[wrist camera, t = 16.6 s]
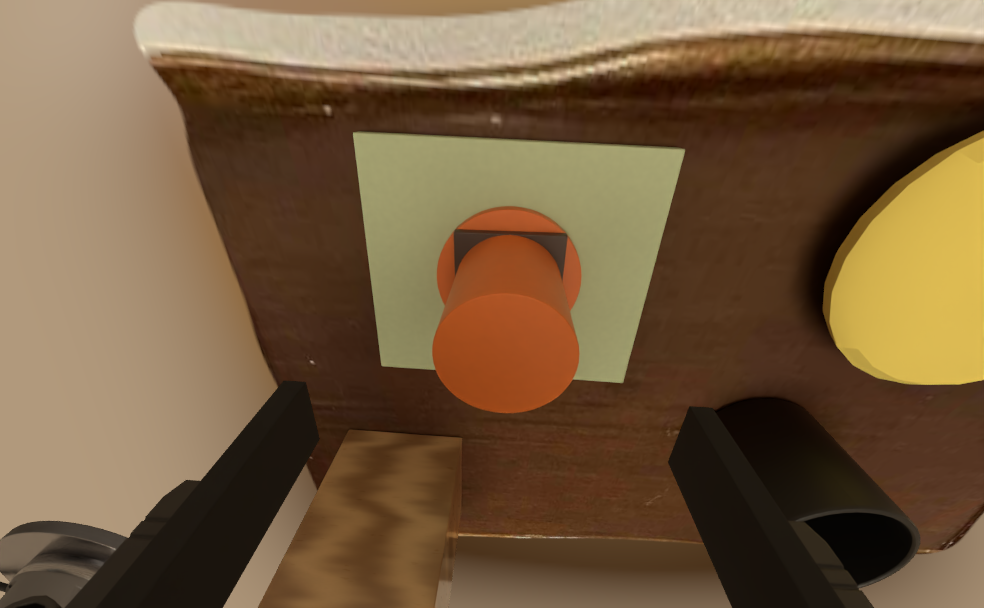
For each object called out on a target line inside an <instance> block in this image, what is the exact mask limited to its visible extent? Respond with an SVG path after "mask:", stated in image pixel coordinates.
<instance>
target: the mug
mask: <svg viewBox="0 0 984 608" xmlns="http://www.w3.org/2000/svg"><path fill="white" fill-rule="evenodd" d="M716 414H717V415H718V417H719V418H720V420H721V421H722V423H723V424H724V426H725V427H726V429H727V430H728V432H729V433H730V435H731V436H732V438H733V439H734V441H735V442H736V444H737V445H738V447H739V448H740V450H741V451H742V453H743V454H744V456H745V457H746V459H747V460H748V462H749V463H750V465H751V466H752V468H753V469H754V471H755V472H756V474H757V475H758V477H759V478H760V480H761V481H762V483H763V484H764V486H765V487H766V489H767V490H768V492H769V493H770V495H771V496H772V498H773V499H774V501H775V502H776V504H777V505H778V507H779V508H780V510H781V511H782V513H783V514H784V516H785V517H786V519H787V520H788V521H800V522H805V523H806V524H807V525H808V526H809V527H811V528H812V529H813V530H814V531H815V532H816V533H817V534H818V535H819V536H820V537H821V538H822V539H824V540H825V541H826V542H827V544H828V545H829V546H830V548H831V549H832V550H833V552H834V553H835V555H836V556H837V557H838V559H839V560H840V561H841V563H842V564H843V567H844V570H846V571H848V573H849V574H850V575H851V577H852V578H853V579H854V581H855V582H856V584H857V585H858V589H859V588H862V587H865V586H868V585H871V584H873V583H876V582H878V581H881V580H882V579H885V578H887V577H889V576H891V575H892V574H894V573H896V572H897V571H899V570H900V569H901V568H903V567H904V566H905V565H906V564H907V563H908V562H909V561H910V560H911V559H912V558H913V557H914V556H915V554H916V553H917V551H918V549H919V546H920V534H919V532H918V529H917V527H916V526H915V525H914V523H913V522H912V521H911V520H910V519H909V518H908V517H907V516H906V514H905V513H904V512H903V511H902V510H901V509H900V508H899V507H898V506H897V505H896V504H895V503H894V502H893V501H892V500H891V499H890V498H889V497H888V496H887V494H886V493H885V492H884V491H883V490H882V489H881V488H880V487H879V486H878V485H877V484H876V483H875V482H874V481H873V480H872V479H871V478H870V477H869V475H868V474H867V473H866V472H865V471H864V470H863V469H862V468H861V467H860V466H859V465H858V464H857V463H856V462H855V461H854V460H853V459H852V458H851V457H850V455H849V454H848V453H847V452H846V451H845V450H844V449H843V448H842V447H841V446H840V445H839V444H838V443H837V442H836V441H835V440H834V439H833V438H832V437H831V435H830V434H829V433H828V432H827V431H826V430H825V429H824V428H823V427H822V426H821V425H820V424H819V423H818V422H817V421H816V420H815V419H814V418H813V417H812V415H811V414H810V413H809V412H807V411H806V410H805V409H803V408H802V407H800V406H798V405H795V404H793V403H790V402H787V401H784V400H778V399H754V400H748V401H743V402H740V403H736V404H734V405H731V406H729V407H726V408H724V409H722V410H720V411H718V412H717V413H716Z"/></svg>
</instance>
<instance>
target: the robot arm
mask: <svg viewBox="0 0 984 608" xmlns="http://www.w3.org/2000/svg"><path fill="white" fill-rule="evenodd" d="M319 439H320V438H319V434H318V430H317V426H316V422H315V418H314V414H313V410H312V406H311V401H310V397H309V393H308V389H307V385H306V382H297V381H283V382H282V384H281V385H280V386H279V387H278V388H277V390H276V391H275V392H274V393H273V394H272V396H271V397H270V398H269V399H268V400H267V402H266V403H265V404H264V405H263V407H262V408H261V409H260V410H259V412H257V414H256V415H255V416H254V417H253V419H252V420H251V421H250V422H249V423H248V425H247V426H246V427H245V428H244V430H243V431H242V432H241V433H240V434H239V436H238V437H237V438H236V439H235V440H234V442H233V443H232V444H231V445H230V446H229V447H228V449H227V450H226V451H225V452H224V454H223V455H222V456H221V457H220V458H219V460H218V461H217V462H216V463H215V464H214V466H213V467H212V468H211V469H210V470H209V472H208V473H207V474H206V476H204V478H203V479H202V480H201V481H193V480H186V481H184V482H183V483H181V484H180V485H179V486H178V487H176V488H175V489H173V490H172V491H171V492H169V493H168V494H167V495H165V496H164V497H163V498H162V499H161V500H160V501H159V502H158V504H157V505H156V506H155V507H154V508H153V509H152V510H151V511H150V513H149V514H148V515H147V516H146V518H145V520H144V521H141V523H140V524H139V525H138V526H137V527H136V528H135V529H134V530H133V532H132V533H131V535H130V537H129V538H126V539H125V541H124V542H123V543H122V544H121V545H120V546H119V547H118V548H117V550H116V551H115V552H114V553H113V554H112V555H111V556H110V557H109V559H108V560H107V561H106V562H103V561H100V560H96V559H93V558H89V557H84V556H80V555H73V554H64V553H51V554H43V555H39V556H37V557H35V558H33V559H32V560H31V561H30V562H29V563H28V564H26V565H25V566H24V567H23V568H22V569H21V570H20V571H19V572H18V573H17V574H16V575H15V576H14V577H13V578H12V579H11V581H10V583H9V584H6V583H2V582H0V591H4V592H6V593H5V595H4V596H3V597H2V598H1V600H0V608H223V606H224V604H225V603H226V601H227V599H228V597H229V596H230V594H231V592H232V591H233V588H234V587H235V585H236V584H237V582H238V580H239V578H240V577H241V575H242V573H243V571H244V570H245V568H246V566H247V564H248V563H249V561H250V559H251V557H252V556H253V554H254V552H255V551H256V549H257V547H258V545H259V544H260V542H261V540H262V538H263V537H264V535H265V533H266V531H267V530H268V528H269V526H270V524H271V523H272V521H273V519H274V517H275V516H276V514H277V512H278V511H279V509H280V507H281V505H282V504H283V502H284V500H285V498H286V497H287V495H288V493H289V491H290V490H291V488H292V486H293V484H294V483H295V481H296V479H297V477H298V476H299V474H300V472H301V471H302V469H303V467H304V465H305V464H306V462H307V460H308V458H309V457H310V455H311V453H312V451H313V450H314V448H315V446H316V445H317V443H318V441H319ZM668 463H669V465H670V468H671V470H672V472H673V475H674V477H675V479H676V481H677V484H678V486H679V488H680V490H681V493H682V495H683V497H684V499H685V502H686V504H687V506H688V509H689V511H690V513H691V515H692V518H693V520H694V522H695V524H696V527H697V529H698V531H699V533H700V536H701V538H702V540H703V543H704V545H705V547H706V549H707V551H708V554H709V556H710V558H711V561H712V563H713V565H714V567H715V569H716V572H717V574H718V577H719V579H720V581H721V583H722V586H723V588H724V590H725V592H726V595H727V597H728V599H729V601H730V604H731V606H732V608H874V607H873V606H872V604H871V603H870V602H869V600H868V599H867V597H866V596H865V595H864V593H863V592H862V591H860V590H859V589H858V585H857V584H856V582H855V581H854V579H853V578H852V577H851V575H850V574H849V573H848V571H846V570H844V567H843V564H842V563H841V561H840V560H839V559H838V557H837V556H836V555H835V553H834V552H833V550H832V549H831V548H830V546H829V545H828V544H827V542H826V541H825V540H824V539H822V538H821V537H820V536H819V535H818V534H817V533H816V532H815V531H814V530H813V529H812V528H811V527H809V526H808V525H807V524H806V523H805V522H800V521H788V520H787V519H786V517H785V516H784V514H783V513H782V511H781V510H780V508H779V507H778V505H777V504H776V502H775V501H774V499H773V498H772V496H771V495H770V493H769V492H768V490H767V489H766V487H765V486H764V484H763V483H762V481H761V480H760V478H759V477H758V475H757V474H756V472H755V471H754V469H753V468H752V466H751V465H750V463H749V462H748V460H747V459H746V457H745V456H744V454H743V453H742V451H741V450H740V448H739V447H738V445H737V444H736V442H735V441H734V439H733V438H732V436H731V435H730V433H729V432H728V430H727V429H726V427H725V426H724V424H723V423H722V421H721V420H720V418H719V417H718V415H717V414H716V412H715V411H714V409H713V408H706V407H691V406H690V407H689V409H688V412H687V414H686V417H685V420H684V422H683V425H682V427H681V430H680V433H679V435H678V438H677V440H676V443H675V445H674V448H673V451H672V453H671V456H670V458H669V461H668Z"/></svg>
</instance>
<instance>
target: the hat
mask: <svg viewBox="0 0 984 608" xmlns="http://www.w3.org/2000/svg"><path fill="white" fill-rule="evenodd" d="M581 277H582V274H581V265H580V260H579V257H578V254H577V251H576V249H575V246H574V244H573V243H572V241H571V239H570V237H569V236H568V235H567V233H566V232H565V231H564V230H563V229H562V228H561V227H560V226H559V225H558V224H557V223H556V222H554V221H553V220H552V219H550V218H549V217H547V216H545V215H543V214H542V213H539V212H537V211H534V210H531V209H527V208H523V207H515V206H502V207H495V208H490V209H487V210H484V211H481V212H479V213H477V214H475V215H473V216H471V217H469V218H468V219H466V220H465V221H464V222H462V223H461V224H460V225H459V226H458V227H457V228H456V229H455V230H454V231H453V232H452V233H451V235H450V236H449V238H448V239H447V241H446V243H445V245H444V247H443V249H442V251H441V254H440V257H439V260H438V266H437V284H438V289H439V293H440V296H441V298H442V301H443V303H444V305H445V307H444V310H443V313H442V316H441V319H440V322H439V325H438V327H437V330H436V333H435V336H434V339H433V345H432V357H433V363H434V366H435V369H436V372H437V374H438V376H439V378H440V379H441V381H442V382H443V384H444V385H445V386H446V387H447V389H448V390H449V391H450V392H452V393H453V394H454V395H455V396H456V397H458V398H459V399H460V400H462V401H464V402H466V403H467V404H469V405H471V406H474V407H476V408H479V409H482V410H486V411H491V412H497V413H518V412H524V411H529V410H532V409H536V408H538V407H541V406H543V405H545V404H547V403H549V402H551V401H552V400H554V399H555V398H556V397H558V396H559V395H560V394H561V393H562V392H563V391H564V390H565V389H566V388H567V387H568V386H569V384H570V383H571V381H572V379H573V378H574V376H575V373H576V371H577V368H578V364H579V355H580V353H579V344H578V340H577V336H576V333H575V329H574V325H573V321H572V317H571V313H570V310H571V309H572V307H573V306H574V304H575V302H576V300H577V297H578V294H579V291H580V286H581Z"/></svg>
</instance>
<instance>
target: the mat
mask: <svg viewBox="0 0 984 608" xmlns="http://www.w3.org/2000/svg"><path fill="white" fill-rule="evenodd" d="M353 138H354V147H355V155H356V163H357V171H358V179H359V187H360V195H361V203H362V211H363V220H364V228H365V236H366V244H367V252H368V260H369V268H370V276H371V284H372V293H373V301H374V309H375V317H376V325H377V333H378V341H379V349H380V357H381V366H387V367H401V368H416V369H430V370H436V369H435V366H434V363H433V357H432V345H433V339H434V336H435V333H436V330H437V327H438V325H439V322H440V319H441V316H442V313H443V310H444V307H445V305H444V303H443V301H442V298H441V296H440V293H439V289H438V284H437V266H438V260H439V257H440V254H441V251H442V249H443V247H444V245H445V243H446V241H447V239H448V238H449V236H450V235H451V233H452V232H453V231H454V230H455V229H456V228H457V227H458V226H459V225H460V224H461V223H462V222H464V221H465V220H466V219H468V218H469V217H471V216H473V215H475V214H477V213H479V212H481V211H484V210H487V209H490V208H495V207H502V206H515V207H523V208H527V209H531V210H534V211H537V212H539V213H542V214H543V215H545V216H547V217H549V218H550V219H552V220H553V221H554V222H556V223H557V224H558V225H559V226H560V227H561V228H562V229H563V230H564V231H565V232H566V233H567V235H568V236H569V237H570V239H571V241H572V243H573V244H574V246H575V249H576V251H577V254H578V257H579V260H580V265H581V274H582V277H581V286H580V291H579V294H578V297H577V300H576V302H575V304H574V306H573V307H572V309H571V310H570V313H571V317H572V321H573V325H574V329H575V333H576V336H577V340H578V344H579V353H580V355H579V364H578V368H577V371H576V373H575V376H574V378H573V379H574V380H588V381H603V382H617V383H623V380H624V377H625V373H626V369H627V365H628V362H629V358H630V354H631V350H632V347H633V343H634V339H635V336H636V332H637V328H638V324H639V321H640V317H641V313H642V309H643V306H644V302H645V298H646V295H647V291H648V287H649V283H650V280H651V276H652V272H653V268H654V265H655V261H656V257H657V253H658V250H659V246H660V242H661V239H662V235H663V231H664V227H665V224H666V220H667V216H668V212H669V209H670V205H671V201H672V197H673V194H674V190H675V186H676V183H677V179H678V175H679V171H680V168H681V164H682V160H683V156H684V153H685V149H681V148H677V147H657V146H637V145H618V144H598V143H578V142H559V141H539V140H519V139H499V138H480V137H460V136H440V135H421V134H401V133H381V132H361V131H359V132H354V133H353Z"/></svg>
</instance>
